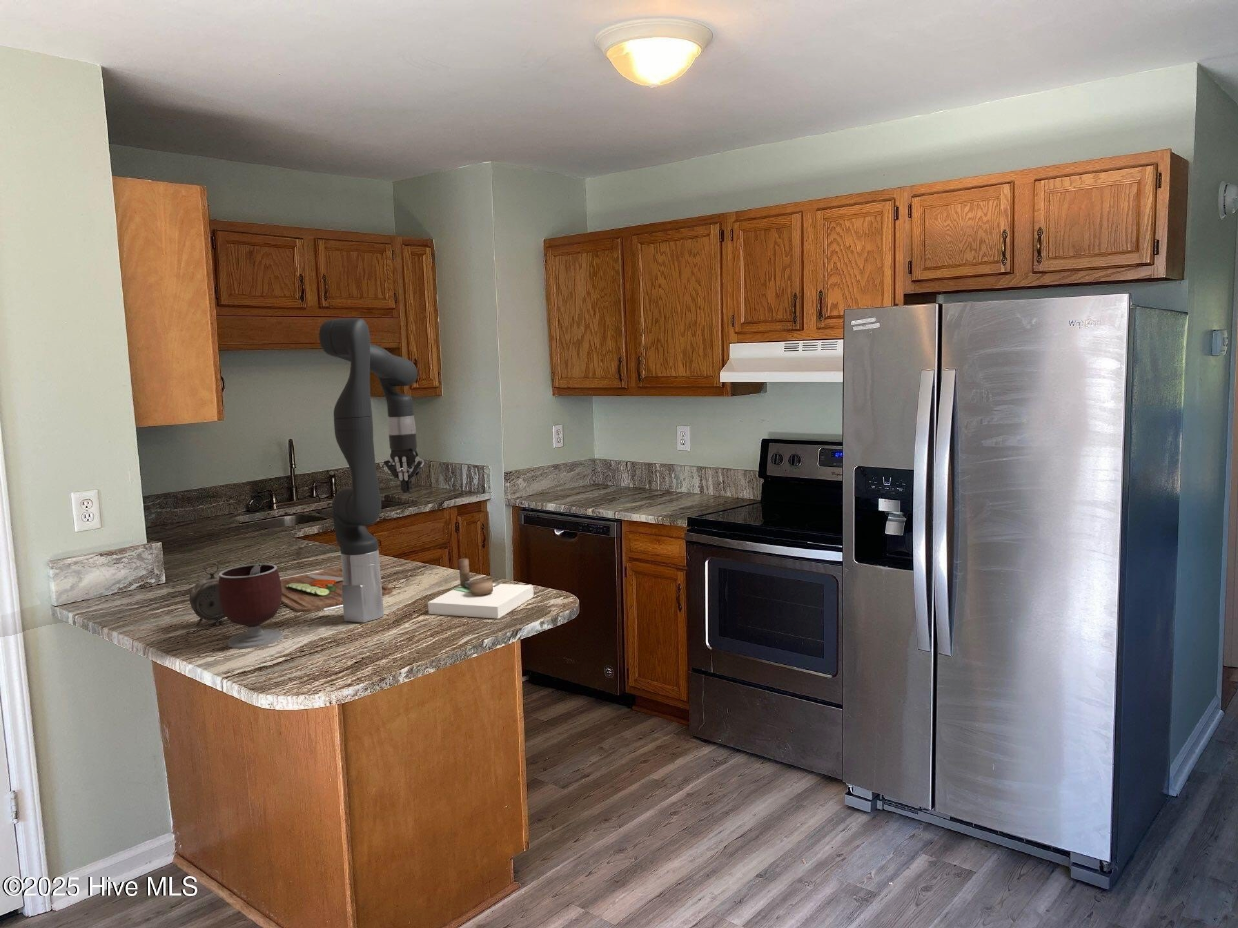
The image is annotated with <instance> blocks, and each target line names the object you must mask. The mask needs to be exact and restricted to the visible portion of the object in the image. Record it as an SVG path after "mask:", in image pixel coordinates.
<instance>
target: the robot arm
mask: <svg viewBox="0 0 1238 928" xmlns="http://www.w3.org/2000/svg"><path fill="white" fill-rule="evenodd" d="M318 340H319V344H320V346H321V349H322V350H323V352H325V354H327V355H329V356H331V357H335V358H339V359H342V360H345V361H348V362H350V367H349V375H348V379H347V381H346V384H345V385H344V387H343V389H342V391H341V393H340V395H339V396H338V398H337V401H336V402H335V405H334V409H333V429H334V437H335V439H336V444H337V446H338V447H339V449H340V451H341V453H342V454H343V457H344V459H345V461H346V463H347V465H348V467H349V470H350V476H351V484H352V485H351V486H352V487H345V488H342V489H340V490H339V491H337V492H336V494H335V495H334V497H333V501H332V506H331V507H332V509H331V510H332V511H331V512H332V521H333V527H334V535H335V540H336V542H337V544H338V546H339V548H340V549H339V550H340V559H341V568H342V573H343V584H342V585H341V588H342V599H343V607H342V609H343V619H344V620H343V621H344V622H351V623H353V622H354V623H366V622H369V621H370V622H371V621H374V620H377V619H380V618H383V616H384V615H385V613H384V611H385V610H384V599H383V596H382V586H381V584H382V579H381V564H380V553H379V552H380V551H379V542H378V539H377V537H376V536H374V535H373V534H371V533H370V532H369V530H368V529H367V527H369V526H373V525H374V524H376V523H377V521H378V520H379V518H380V516H381V512H382V499H381V498H382V497H381V491H380V485H379V481H378V480H379V479H378V473H377V466H376V455H375V444H374V421H373V410H372V398H371V383H370V379H371V378H370V377H371V374H370V373H372V374H374V375H376V377H378V381H379V383H380V386H381V388H382V391H383V394H384V397H385V401H386V406H387V407H386V408H387V417H388V418H387V419H388V420H387V430H388V442H389V444H388V445H389V450H390V454H389V456H390V457H389V458H388V459H387V460H384V461H383V464H384V466H385V467H386V469H387V470H388V472H389V473H390V474H391V475H392V477H393V478H394V479H398V480H399V481H400V489H401V490H400V491H401V492H402V494H410V493H411V492H412V491H413V481H412V480H413V479H415V478H418V476H419V475H420V473H421V471H422V469H423V468H424V466H425V465H426V460H425V459H422V458H420V457H419V453H418V451H417V448H418V442H417V428H416V420H415V416H414V414H415V413H414V404H413V403H414V402H413V398H412V396H411V395H408V394H403V393H401V392H399V391H398V389H397V388H396V387H409V386H412V385H413V384H414V383H415V382H416V381H417V379H418V369H417V367H416V365H415V364H414V363H413V362H412V361H411V360H409V359H407V358H405V357H402V356H398V355H394V354H392V353H391V352H389V351H388V350H386V349H385V348H384V347H381V346H379V345H376V344H373V343H371V334H370V329H369V326H368V324H367V322H366V321H365V320H364V319H363V318H359V317H354V318H353V317H351V318H349V317H347V318H334V319H328V320H325V321H324V322H323V323H322V324H321V326H320V327H319V332H318Z"/></svg>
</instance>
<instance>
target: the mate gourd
mask: <svg viewBox="0 0 1238 928" xmlns="http://www.w3.org/2000/svg"><path fill="white" fill-rule="evenodd" d="M279 573H280V572H279V570H278V566H277V565H276V564H272V563H253V564H245V565H239V566H234V567H229V568H227V569H224V570H222V571H220V572H219V574H218V576H219V585H218V593H219V601H220V605H221V609H222V611H223V614H224V615H225V616H226V618H227V619H228V620H229V621H230V623H232V624H235V625H240V626H245V627H247V630H246V632H242V633H239V634H236V635H234V636H232V637H230V638H228V640H227V646H228V647H230V648H233V649H254V648H260V647H264V646H269V645H271V644H274V643H276V642H278V641H280V640H282V639H283V637H284V636H283V631H281V630H279V629H273V628H272V629H268V628H267V629H263V628H262V627H261V626H262V624H263V623H265V622H267V621H269V620H271V619H273V618H274V617H275V616H276V615H277V613H278V612H279V609H280V608H281V605H282V603H281V599H282V588H281V580H280V578H281V577H280V574H279Z"/></svg>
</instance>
